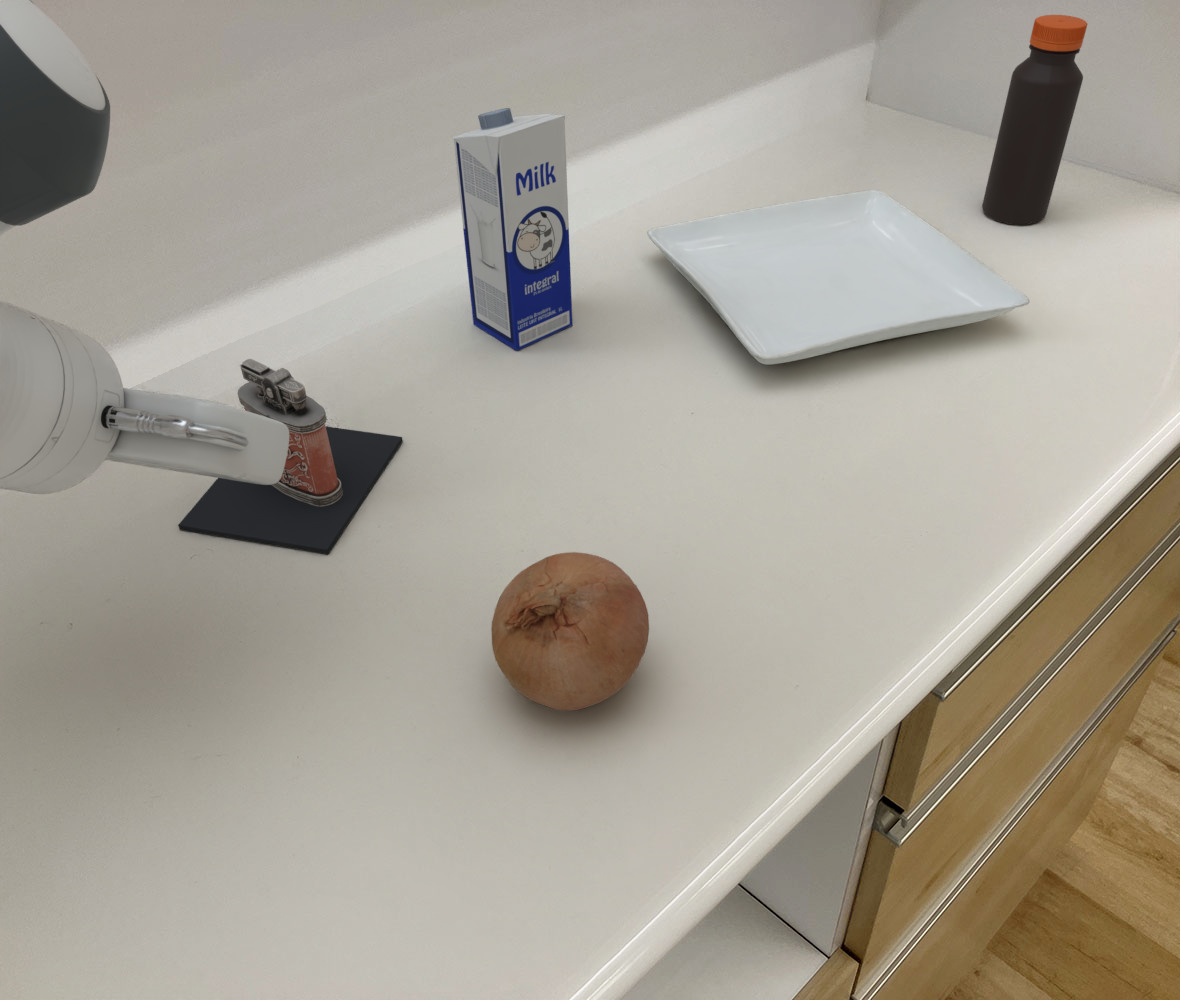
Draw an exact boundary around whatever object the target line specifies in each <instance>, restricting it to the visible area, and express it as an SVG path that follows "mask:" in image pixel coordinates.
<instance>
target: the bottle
mask: <svg viewBox="0 0 1180 1000" xmlns="http://www.w3.org/2000/svg"><path fill="white" fill-rule="evenodd" d="M1087 27H1088V22H1087V21H1086V20H1084V19H1082V18H1080V17H1077V16H1074V15H1073V16H1072V15H1066V14H1044V15H1040V16H1038V17H1036V18H1035V19H1034V22H1033V26H1032V30H1031V35H1030V38H1029V45H1028V48H1029V50H1030V53H1029V56H1028V57H1027V58H1025V60H1023V61H1021V63H1019V64H1017V66H1015V68H1014V70H1013V71H1012V74H1011V77H1010V82H1009V87H1008V91H1007V95H1006V96H1007V97H1006V99H1005V104H1004V108H1003V111H1002V112H1003V113H1002V117H1001V120H1000V126H999V130H998V135H997V139H996V144H995V148H994V152H993V156H992V161H991V165H990V170H989V173H988V178H987V183H986V185H985V190H984V196H983V200H982V205H981V209H982V211H983V213H984V214H985V215H986V216H987V217H988V218H990V219H992V220H994V221H996V222H1000V223H1002V224H1007V225H1013V226H1014V225H1016V226H1017V225H1018V226H1026V225H1033V224H1036V223H1039V222H1041V221H1042V220H1043V219H1045V218H1046V216H1047V213H1048V209H1049V206H1050V203H1051V198H1052V195H1053V191H1054V188H1055V184H1056V181H1057V176H1058V173H1059V169H1060V165H1061V162H1062V158H1063V154H1064V151H1065V147H1066V144H1067V139H1068V136H1069V132H1070V130H1071V129H1070V128H1071V125H1072V121H1073V118H1074V113H1075V109H1076V107H1077V104H1078V99H1079V97H1080V96H1079V95H1080V91H1081V88H1082V85H1083V80H1084V75H1083V73H1082V71H1081V70H1080V68H1079V66H1078V65H1077V63H1076V62H1075V59H1076V56H1077V54H1079V53H1080V52H1081V48H1082V46H1083V43H1084V39H1085V36H1086V35H1085V34H1086V31H1087V29H1088V28H1087Z"/></svg>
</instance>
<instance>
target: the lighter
mask: <svg viewBox="0 0 1180 1000" xmlns="http://www.w3.org/2000/svg"><path fill="white" fill-rule="evenodd" d="M239 367H240V371H241V375H242V378H243V379H244V380H245V381H247V382H246V383H244V384H243V385H241V386H239V389H237V397H238V401H239V403H240V404H241V406H243V408H244V410H245V411H248V412H252V413H255V414H258V415H261V416H264V417H267V418H271V419H274V420H277V421H279V422H282V423H284V424H285V425H286V426H287V427H288V429H289V446H288V452H287V458H286V462H285V467H284V470H283V474H282V476H281V478H280V480H279V481H278V482H277V483H275V484H272V486H274V487H275V488H277V489H278V490H280V491H281V492H283V493H284V494H286V495H288V496H291V497H293V498H295V499H297V500H299V501H302V502H305V503H308V504H311V505H314V506H320V507H321V506H327V505H331V504H333V503H335V502H337V501H338V500H339V499H340V498H341V496H342V495H343V490H342V485H341V482H340V480H339V479H338V478H337V475H336V470H335V466H334V461H333V457H332V453H331V448H330V444H329V439H328V435H327V430H326V423H327V419H328V417H327V414H326V409H325V408H324V406H322V405H321V404H320V403H318V402H317V401H316V400H315V399H313V398H312V397H310V396H308V395H307V392H306V387H305V384H304V383H302V382H301V381H298V380H296V379H295V378H294V377H293V375H292V374H291V373H290V371H289V370H288V369H286V368H284V367H280V368H279V369H277V370H276V369H273V368H271V367H269V366H267V365H265V364H263V363H261V362H259V361H257V360H254V359H252V358H247V359H245V360H243V361H241V364H240V365H239Z"/></svg>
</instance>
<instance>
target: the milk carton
mask: <svg viewBox="0 0 1180 1000" xmlns="http://www.w3.org/2000/svg"><path fill="white" fill-rule="evenodd" d="M477 118H478V122H479V125H480V128H477V129H474V130H470V131H467V132H465V133H462V134H458V135H455V136H452V139H453V147H454V154H455V165H456V174H457V181H458V184H457V185H458V190H459V191H458V192H459V203H460V212H461V221H462V229H463V231H462V232H463V238H464V249H465V258H466V267H467V268H466V269H467V276H468V285H469V297H470V305H471V306H470V307H471V315H472V323H473V326H475V325H476V326H475V327H476V328H478V329H480V330H481V331H483V332H485V333H486V334H488V335H490V336H491V337H493V338H495V339H496V340H498V341H500V342H501V343H503V344H504V345H506V346H508V347H509V348H511V349H513V351H515V352H518V351H520V350H522V349H524V348H527V347H529V346H531V345H533V344H535V343H538V342H539V341H542V340H544V339H546V338H549V337H550V336H553V335H555V334H557V333H560V332H562V331H563V330H566V329H568V328H571V327H573V301H572V277H571V252H570V226H569V201H568V200H569V199H568V175H567V172H568V171H567V148H566V147H567V143H566V121H565V120H566V115H565V114H553V113H543V114H542V113H541V114H532V115H521V116H515V117H513V115H512V110H511V107H505V108H501V109H495V110H492V111H491V110H490V111H488V112H485V113H481V114H479V115H477Z"/></svg>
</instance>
